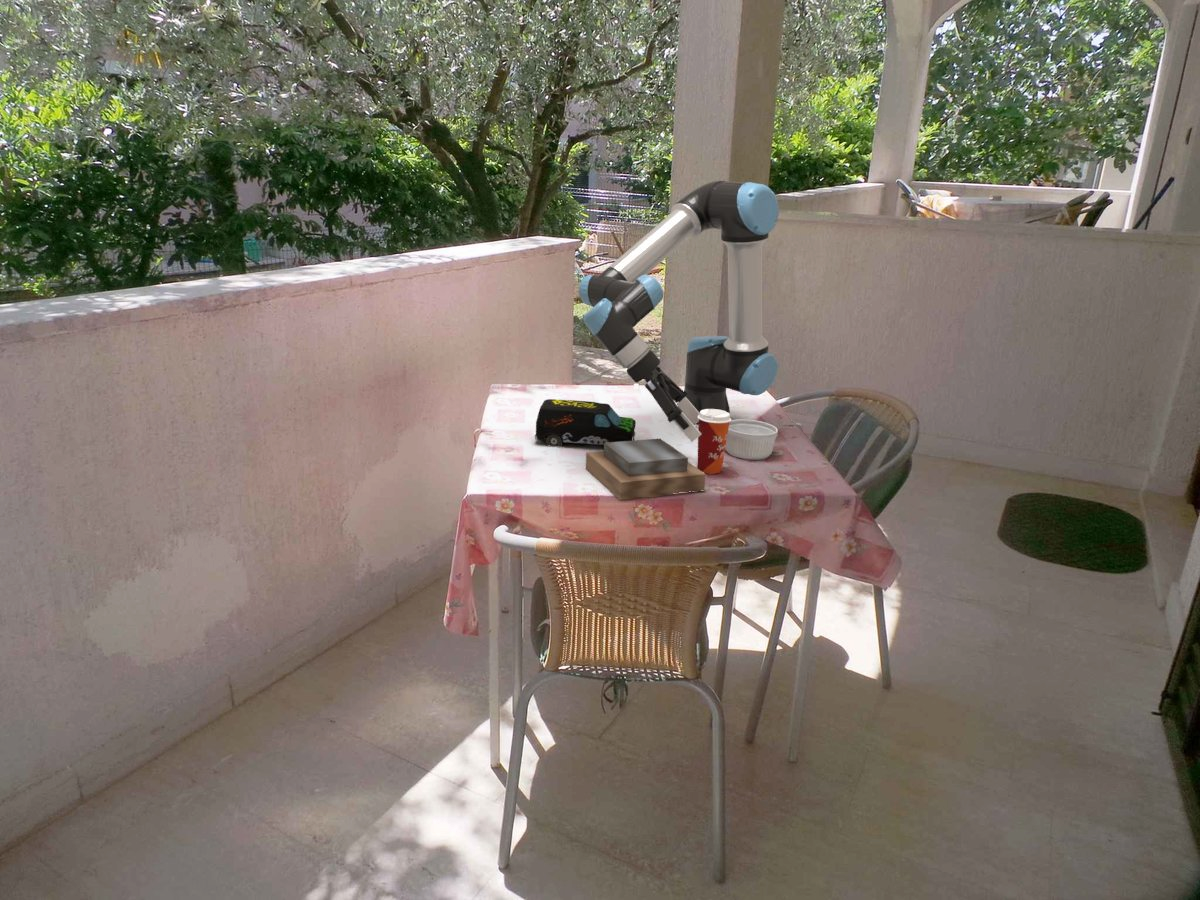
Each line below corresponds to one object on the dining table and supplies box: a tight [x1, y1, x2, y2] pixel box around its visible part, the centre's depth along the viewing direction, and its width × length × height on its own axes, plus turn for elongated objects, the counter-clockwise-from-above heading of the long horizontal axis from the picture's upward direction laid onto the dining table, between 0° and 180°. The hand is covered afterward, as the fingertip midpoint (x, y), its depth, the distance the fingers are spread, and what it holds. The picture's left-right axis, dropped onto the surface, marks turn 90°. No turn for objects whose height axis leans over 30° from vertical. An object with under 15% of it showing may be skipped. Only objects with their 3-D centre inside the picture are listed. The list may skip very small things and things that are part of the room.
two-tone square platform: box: [585, 438, 707, 501], centre depth 190 cm, size 20×20×7 cm
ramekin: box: [725, 418, 779, 461], centre depth 212 cm, size 13×13×7 cm
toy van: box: [534, 398, 637, 448], centre depth 213 cm, size 11×25×10 cm, turn 85°
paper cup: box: [697, 409, 732, 475], centre depth 197 cm, size 8×8×14 cm
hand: (697, 429), depth 195 cm, fingers open, 13 cm apart
